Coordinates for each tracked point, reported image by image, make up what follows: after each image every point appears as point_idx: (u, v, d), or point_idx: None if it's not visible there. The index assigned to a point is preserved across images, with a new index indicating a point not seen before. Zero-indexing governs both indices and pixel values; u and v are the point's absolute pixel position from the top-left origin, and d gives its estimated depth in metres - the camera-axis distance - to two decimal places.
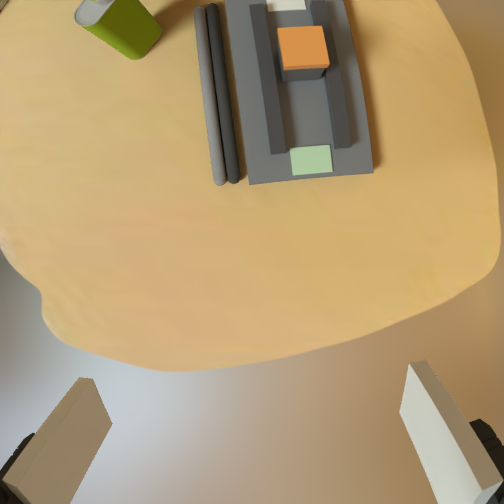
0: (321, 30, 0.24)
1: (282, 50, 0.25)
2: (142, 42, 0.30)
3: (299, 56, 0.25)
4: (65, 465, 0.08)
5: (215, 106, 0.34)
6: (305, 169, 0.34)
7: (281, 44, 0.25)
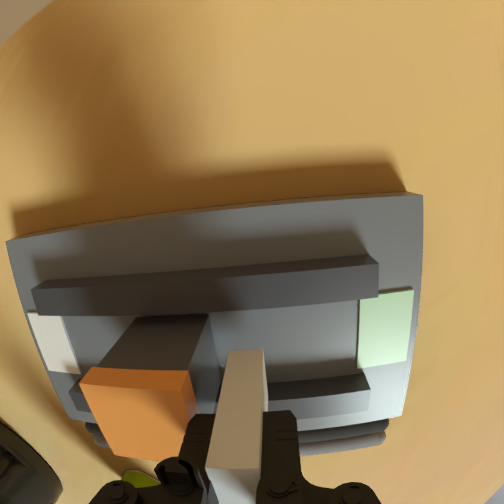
0: (90, 387, 0.10)
1: None
2: None
3: (173, 440, 0.11)
4: None
5: None
6: (400, 341, 0.16)
7: (150, 458, 0.11)
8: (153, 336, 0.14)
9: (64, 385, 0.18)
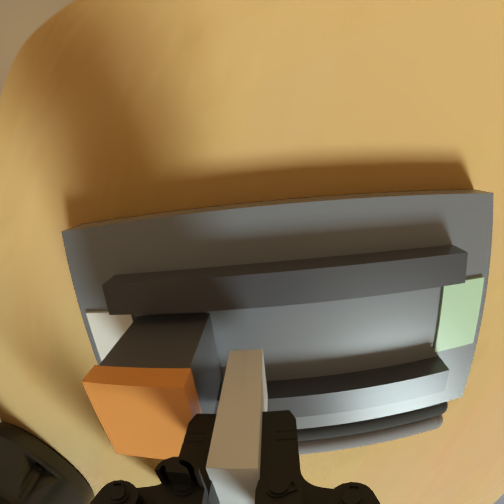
0: (93, 385, 0.10)
1: (167, 458, 0.11)
2: None
3: (175, 438, 0.11)
4: None
5: (332, 439, 0.20)
6: (470, 324, 0.16)
7: (153, 456, 0.11)
8: (155, 334, 0.14)
9: None
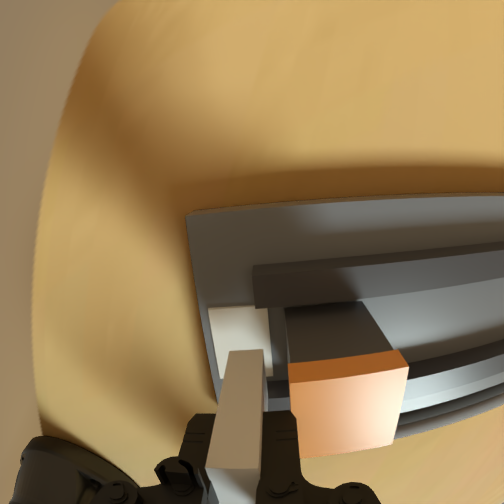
0: (305, 385, 0.10)
1: (353, 449, 0.11)
2: None
3: (376, 424, 0.10)
4: None
5: (422, 421, 0.20)
6: None
7: (337, 452, 0.11)
8: (325, 324, 0.14)
9: None
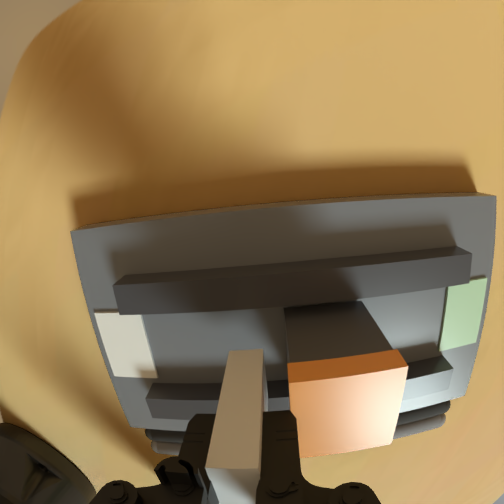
0: (305, 384, 0.10)
1: (352, 449, 0.11)
2: None
3: (375, 423, 0.10)
4: None
5: None
6: (474, 324, 0.16)
7: (337, 451, 0.11)
8: (324, 324, 0.14)
9: (132, 391, 0.18)
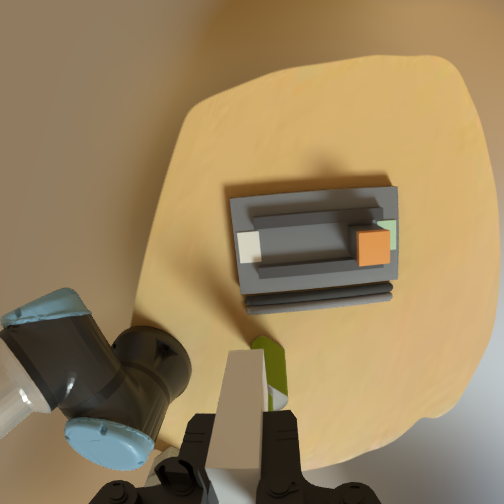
0: (362, 234, 0.38)
1: (377, 263, 0.39)
2: (278, 352, 0.49)
3: (383, 252, 0.39)
4: None
5: (337, 299, 0.48)
6: (393, 240, 0.44)
7: (373, 264, 0.39)
8: (363, 227, 0.42)
9: (247, 271, 0.47)
